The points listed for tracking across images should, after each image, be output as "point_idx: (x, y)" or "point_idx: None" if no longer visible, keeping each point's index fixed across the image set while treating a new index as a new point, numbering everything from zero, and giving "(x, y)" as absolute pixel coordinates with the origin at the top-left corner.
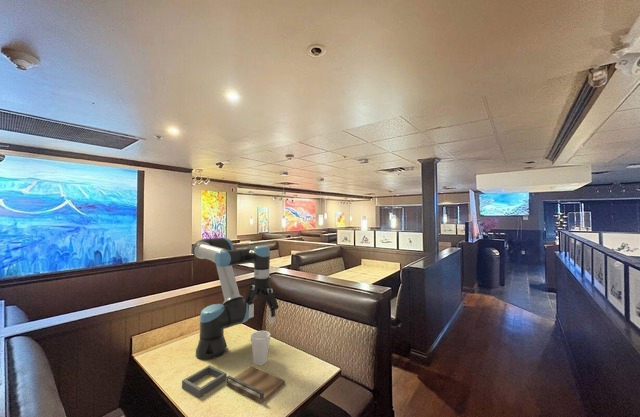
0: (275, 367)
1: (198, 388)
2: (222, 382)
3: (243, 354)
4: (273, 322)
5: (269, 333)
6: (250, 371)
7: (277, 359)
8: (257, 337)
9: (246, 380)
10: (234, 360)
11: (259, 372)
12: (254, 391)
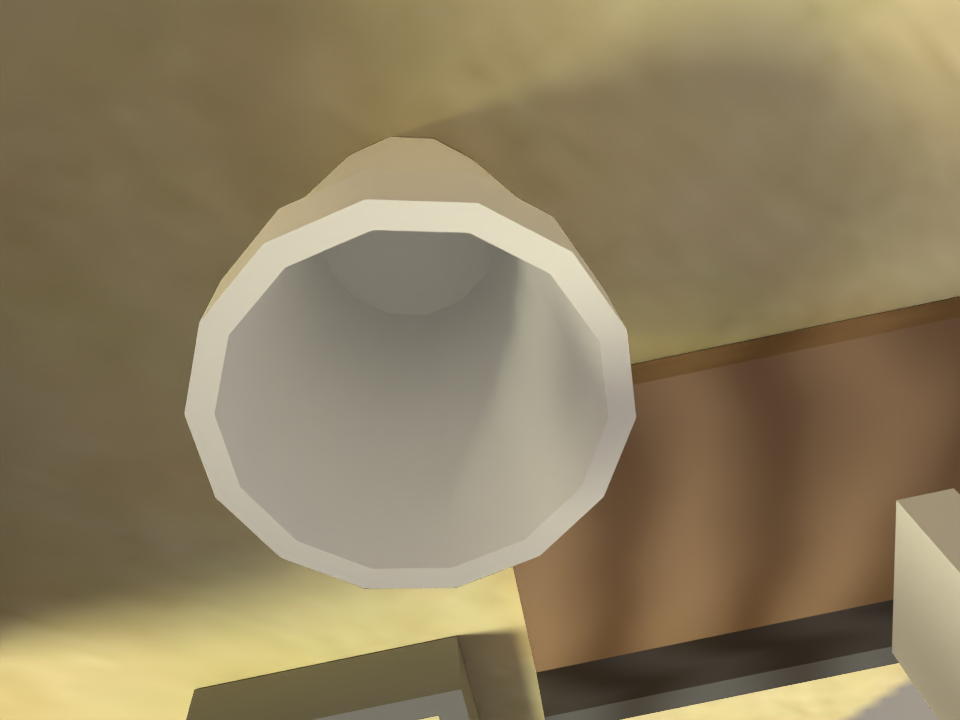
0: (685, 166)
1: None
2: (466, 674)
3: (67, 293)
4: (953, 511)
5: (511, 235)
6: None
7: (555, 10)
8: (250, 334)
9: (667, 567)
10: (145, 441)
11: (668, 417)
12: None
